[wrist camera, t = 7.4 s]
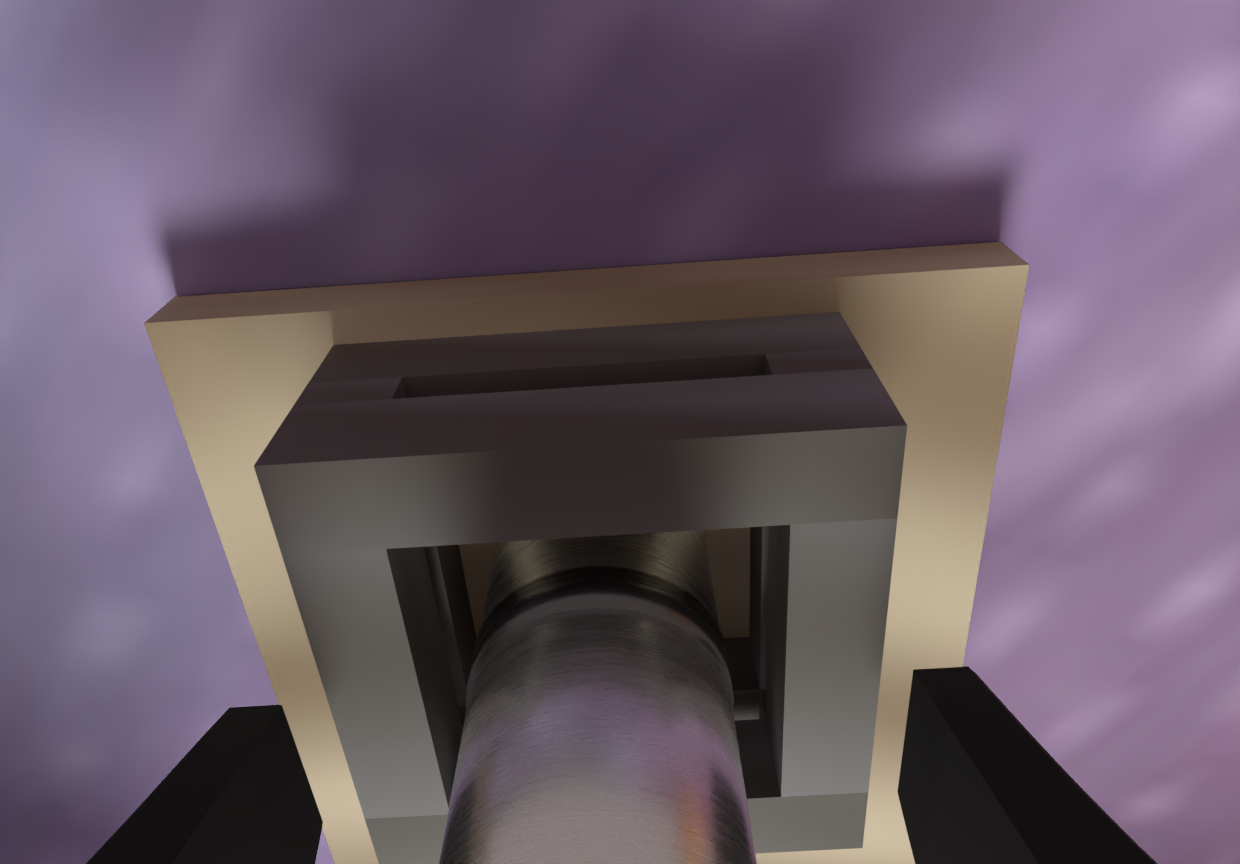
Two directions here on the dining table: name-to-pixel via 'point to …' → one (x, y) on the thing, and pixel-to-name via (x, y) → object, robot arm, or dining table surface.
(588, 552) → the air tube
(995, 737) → the robot arm
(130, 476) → the dining table surface
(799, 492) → the wooden board with holder
